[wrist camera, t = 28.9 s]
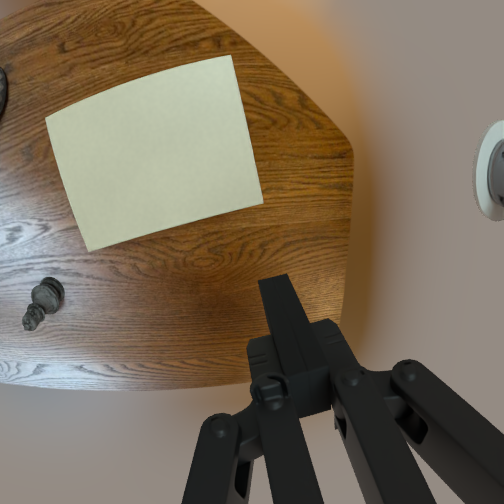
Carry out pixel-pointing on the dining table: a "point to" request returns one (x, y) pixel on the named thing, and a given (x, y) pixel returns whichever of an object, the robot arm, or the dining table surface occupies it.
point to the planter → (2, 89)
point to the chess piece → (43, 302)
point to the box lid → (156, 153)
